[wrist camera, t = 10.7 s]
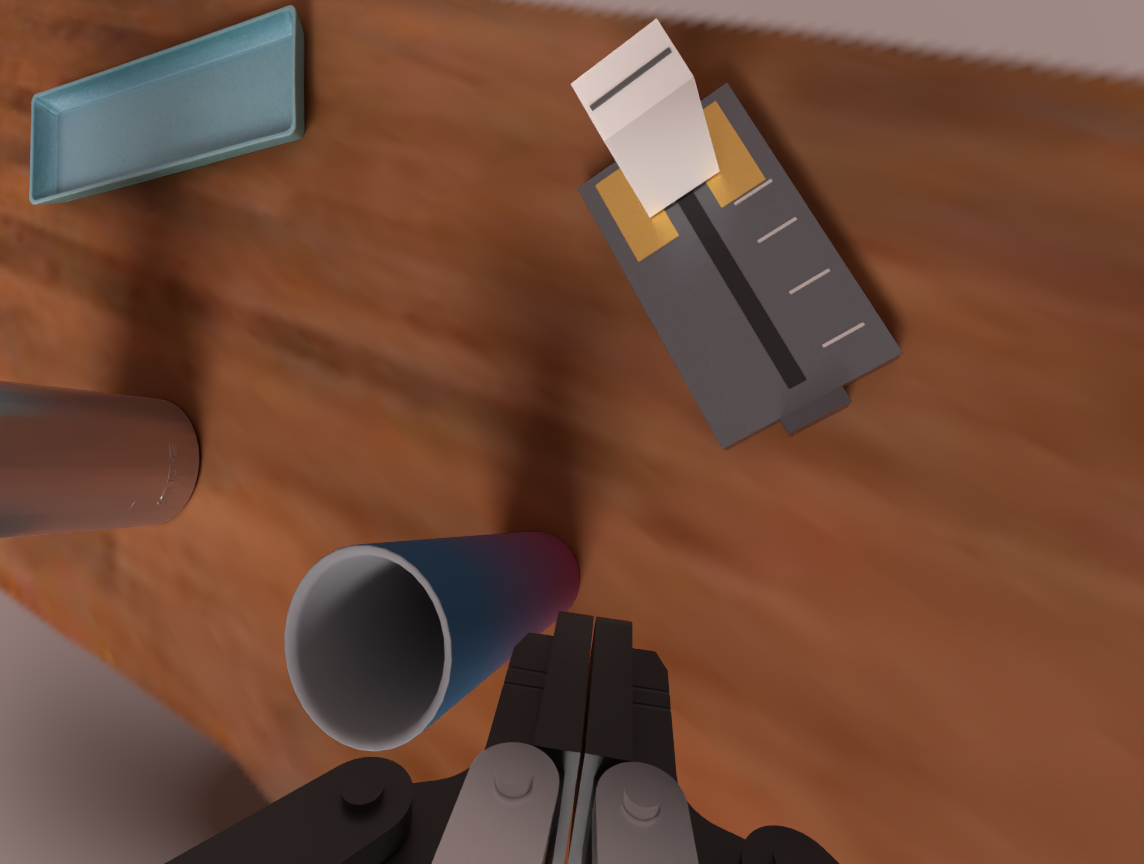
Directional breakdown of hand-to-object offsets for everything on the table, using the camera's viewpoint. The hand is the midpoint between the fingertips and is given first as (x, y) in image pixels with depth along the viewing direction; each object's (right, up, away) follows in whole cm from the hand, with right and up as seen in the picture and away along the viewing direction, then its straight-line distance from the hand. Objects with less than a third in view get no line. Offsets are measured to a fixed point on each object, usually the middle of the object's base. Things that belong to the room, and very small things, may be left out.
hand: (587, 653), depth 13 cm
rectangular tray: (-30, +28, +35) cm, 54 cm away
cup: (-2, -4, +23) cm, 23 cm away
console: (+8, +13, +20) cm, 25 cm away
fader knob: (+5, +18, +19) cm, 27 cm away
